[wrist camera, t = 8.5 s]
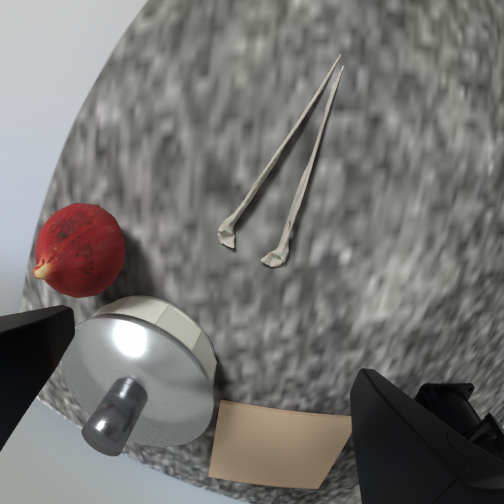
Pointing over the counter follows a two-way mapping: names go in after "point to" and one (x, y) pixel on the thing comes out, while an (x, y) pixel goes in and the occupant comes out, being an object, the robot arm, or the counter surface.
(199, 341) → the bowl
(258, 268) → the counter surface
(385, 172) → the counter surface
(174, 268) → the counter surface
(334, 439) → the mat
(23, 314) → the robot arm
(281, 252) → the tweezers
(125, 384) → the lid
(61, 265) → the onion
